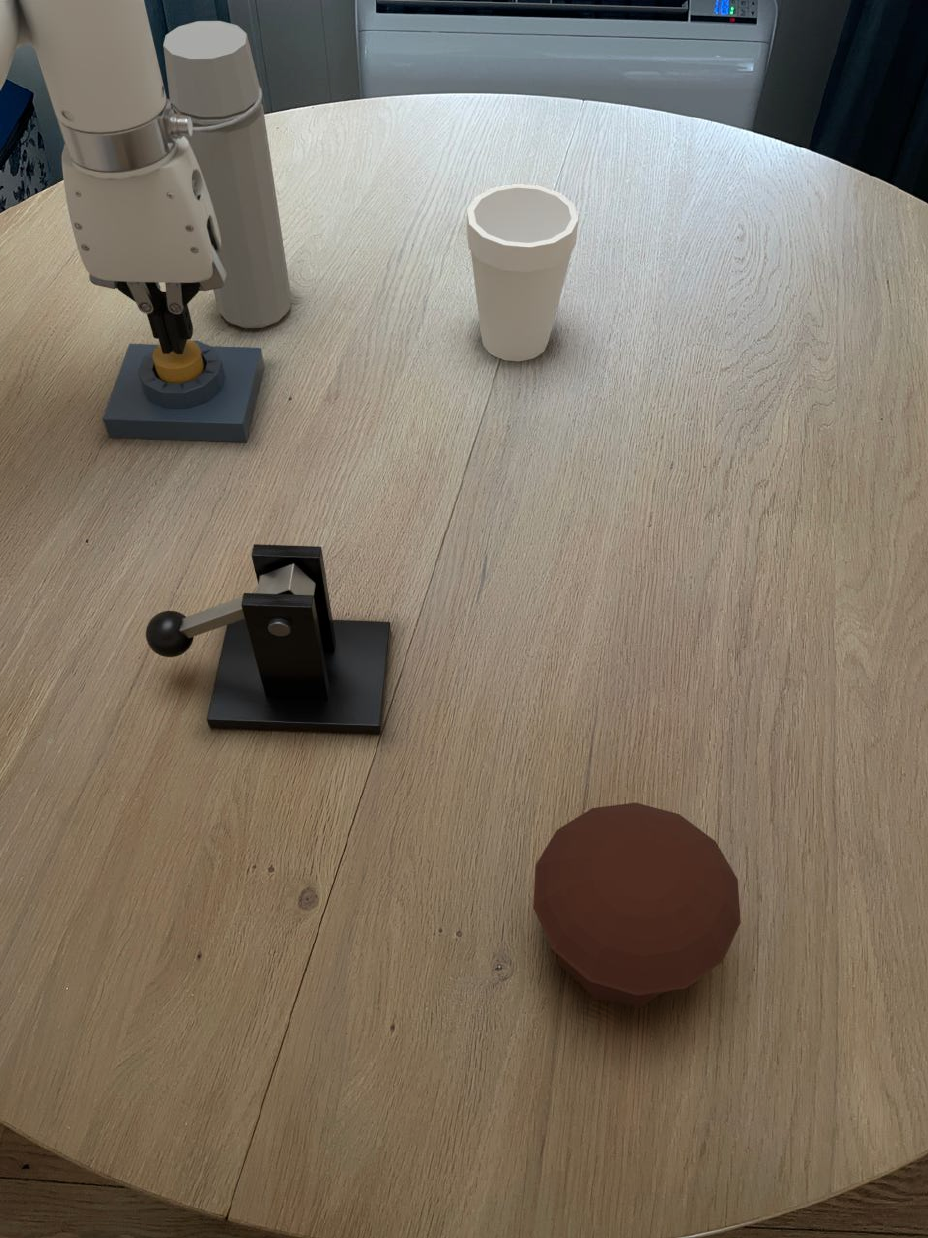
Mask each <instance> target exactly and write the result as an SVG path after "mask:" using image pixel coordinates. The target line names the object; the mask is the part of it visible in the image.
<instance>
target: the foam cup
mask: <svg viewBox="0 0 928 1238" xmlns="http://www.w3.org/2000/svg"><path fill="white" fill-rule="evenodd" d="M578 229H579V216H578V212H577V208H576V205H575V204H574V203H573V202H572V201H570V200H569V199H568V197H566V196H564V194H562V193H561V192H559V191H556V190H552V189H550V188H548V187H544V186H541V185H536V184H524V183H512V184H506V185H501V186H495V187H491V188H489V189H487V190H485V191H484V192H482V193H479V194H478V195H476V196H475V197H474V198H473V199H472V201H471V203H470V204H469V206H468V207H467V208H466V240H467V245H468V250H469V251H470V257H471V262H472V272H473V280H474V287H475V288H474V289H475V296H476V304H477V314H478V320H479V328H480V335H481V341H482V346H483V348H484V349H485V351H487V352H488V353H489V354H490V355H491V356H493V357H496V358H498V359H500V360H503V361H510V362H523V361H529V360H533V359H536V357H538V356H540V355H541V354H543V353H544V352H545V351H546V348H547V346H548V345H549V340H550V338H551V335H552V331H553V328H554V327H553V326H554V322H555V319H556V315H557V311H558V307H559V303H560V299H561V296H562V290H563V288H564V283H565V279H566V274H567V271H568V268H569V264H570V259H571V255H572V252H573V251H574V249H575V247H576V244H577V237H578Z"/></svg>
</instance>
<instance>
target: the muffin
mask: <svg viewBox="0 0 928 1238" xmlns="http://www.w3.org/2000/svg"><path fill="white" fill-rule="evenodd" d="M533 887H534V888H533V889H534V890H533V906H532V908H533V911H534V912H535V915H536V917H537V919H538V921H539V924H540V926H541V928H542V930H543V932H544V935H545V937H546V939H547V942H548V944H549V946H550V948H551V950H552V951H553V952H555V954H556V957H557V961H558V966H559V968H561V969H562V970H563V971H565V973H567V974H568V975H569V976H570V977H572V978H573V979H574V980H575V981H576V982H577V983H579V985H580V986H581V988H582V989H584V991H586V993H587V994H588V995H589V996H590V998H591V999H592V1000H594V1001H605V1002H617V1003H621V1004H625V1005H629V1006H632V1007H635V1008H639V1009H641V1008H642V1007H643V1006H646V1004H648V1003H650V1002H651V1001H652V1000H654V999H655V998H657V997H659V996H661V995H663V994H666V993H668V992H671V991H678V990H685V989H687V988H688V987H690V986H691V985H692V984H694V983H695V982H697V981H698V980H699V979H701V978H702V977H704V976H705V975H706V974H708V973H709V972H711V971H712V970H713V969H715V968H716V967H718V966H719V965H720V964H722V963H723V962H724V960H725V958H726V955H727V953H728V951H729V949H730V947H731V945H732V942H733V940H734V938H735V936H736V934H737V933H738V932H737V931H738V930H739V927H740V925H741V920H742V919H741V909H740V908H741V907H740V905H741V904H740V892H739V879H738V877H737V876H736V874H735V872H734V871H733V869H732V867H731V865H730V863H729V862H728V861H727V859H726V856H725V855H724V853H723V851H722V850H721V848H720V847H719V844H718V843H717V841H716V840H715V839H713V838H712V837H711V836H709V835H708V834H707V833H705V832H704V831H702V830H701V829H700V828H699V827H697V826H696V825H694V823H692V822H691V821H689V820H688V819H686V818H685V817H684V816H682V814H680V813H676V812H673V811H670V810H666V809H662V808H658V807H655V806H650V805H646V804H643V803H639V802H630V803H629V802H628V803H621V804H613V805H606V806H598V807H592V808H590V809H588V810H586V811H585V812H583V813H582V814H580V815H579V816H577V817H576V818H574V819H572V820H571V821H569V822H568V823H566V824H564V825H562V826H560V827H559V828H558V829H556V830H555V833H554V834H553V835H552V837H551V839H550V841H549V842H548V843H547V846H546V847H545V849H544V850H543V852H542V853H541V855H540V857H539V859H538V860H537V862H536V864H535V869H534V886H533Z"/></svg>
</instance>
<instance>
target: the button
mask: <svg viewBox="0 0 928 1238" xmlns="http://www.w3.org/2000/svg"><path fill="white" fill-rule="evenodd" d="M193 341H194V340H192V339H187V342H186V345H185V348H184V351H183V354H176V353H175V352H173V351H172V352H170V354H163V352H162V349H161V346H160V344H158V345H159V346H157V347H156V349H155V350H154V352H153V360H154V364H155V367H156V371H157V374H158V376H159V378H160V379H161V380H163V381H164V382H167V383H179V384H182V383H186V382H189V381H192V380H195V379H196V378H197V377H198V376H200V375H201V374H202V372H203V369H204V364H203V360H202V355H201V351H200V348H199V346H198V345H197V344H196V343H195V342H193Z"/></svg>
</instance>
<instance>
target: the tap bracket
mask: <svg viewBox="0 0 928 1238" xmlns="http://www.w3.org/2000/svg"><path fill="white" fill-rule="evenodd" d="M251 560H252V564H253V568H254V572H255V576H256V580H257V585H258V584H259V579H260V576H261V575H263V574H266V573H269V572H271V571H274V570H277V569H279V568H282V567H285V566H288V565H290V564H293V563H294V564H295V565H296V566H297V567H298V568H299V569H301V570H302V571H303V572H304V573H305V574H306V575H307V576H308V577H309V578H310V579H311V580H312V581H313V582H314V583H315V584H316V585H315V591H314V596H313V595H291V594H263V593H254V592H244V593H243V594H242V597H243V598H242V603H241V606H242V610H243V614H244V617H245V619H242V620H239V621H237V622H234V623H231V624H228V625H226V626H225V627H226V628H225V633H224V637H223V641H222V647H221V651H220V656H219V659H218V661H219V662H218V665H217V670H216V674H215V679H214V683H213V688H212V693H211V697H210V702H209V707H208V711H207V716H206V722H207V724H208V728H209V729H217V730H218V729H219V730H246V731H269V732H270V731H271V732H272V731H273V732H274V731H275V732H302V733H303V732H304V733H325V734H326V733H327V734H329V733H330V734H351V735H352V734H353V735H354V734H355V735H379V736H380V735H381V734H382V726H383V717H384V706H385V697H386V686H387V678H388V677H387V675H388V665H389V656H390V655H389V653H390V646H391V635H392V629H391V627H392V626H391V622H390V621H382V620H381V621H378V620H353V619H351V620H350V619H333V613H332V607H331V600H330V594H329V587H328V581H327V574H326V568H325V562H324V561H325V560H324V556H323V549H322V546H315V545H291V544H290V545H289V544H288V545H285V544H284V545H283V544H257V543H254V544H253V546H252V550H251Z"/></svg>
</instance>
